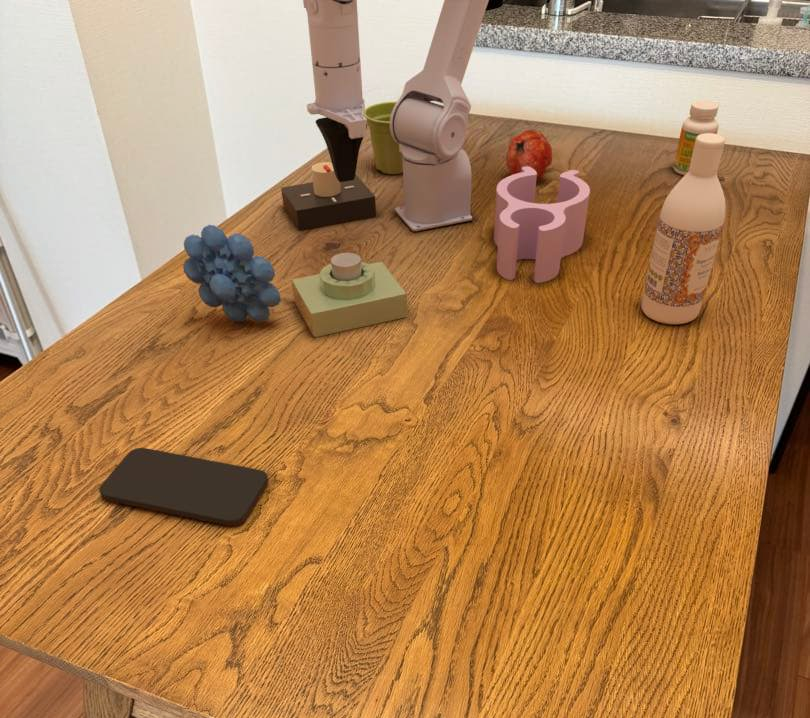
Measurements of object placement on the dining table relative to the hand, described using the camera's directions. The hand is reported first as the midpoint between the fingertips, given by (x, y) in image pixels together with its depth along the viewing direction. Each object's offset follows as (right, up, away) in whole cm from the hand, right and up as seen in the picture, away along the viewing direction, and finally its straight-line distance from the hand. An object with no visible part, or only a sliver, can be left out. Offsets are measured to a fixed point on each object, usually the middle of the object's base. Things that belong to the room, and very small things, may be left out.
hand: (345, 179), depth 102 cm
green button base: (+1, -18, -4) cm, 19 cm away
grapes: (-13, -21, -6) cm, 25 cm away
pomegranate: (+28, +11, +24) cm, 38 cm away
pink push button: (+1, -15, -7) cm, 17 cm away
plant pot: (+6, +15, +28) cm, 32 cm away
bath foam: (+40, -19, -6) cm, 45 cm away
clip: (+26, -6, +7) cm, 28 cm away
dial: (-4, +5, +14) cm, 16 cm away
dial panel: (-4, +3, +17) cm, 17 cm away
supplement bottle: (+54, +12, +24) cm, 60 cm away
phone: (-13, -42, -27) cm, 52 cm away
